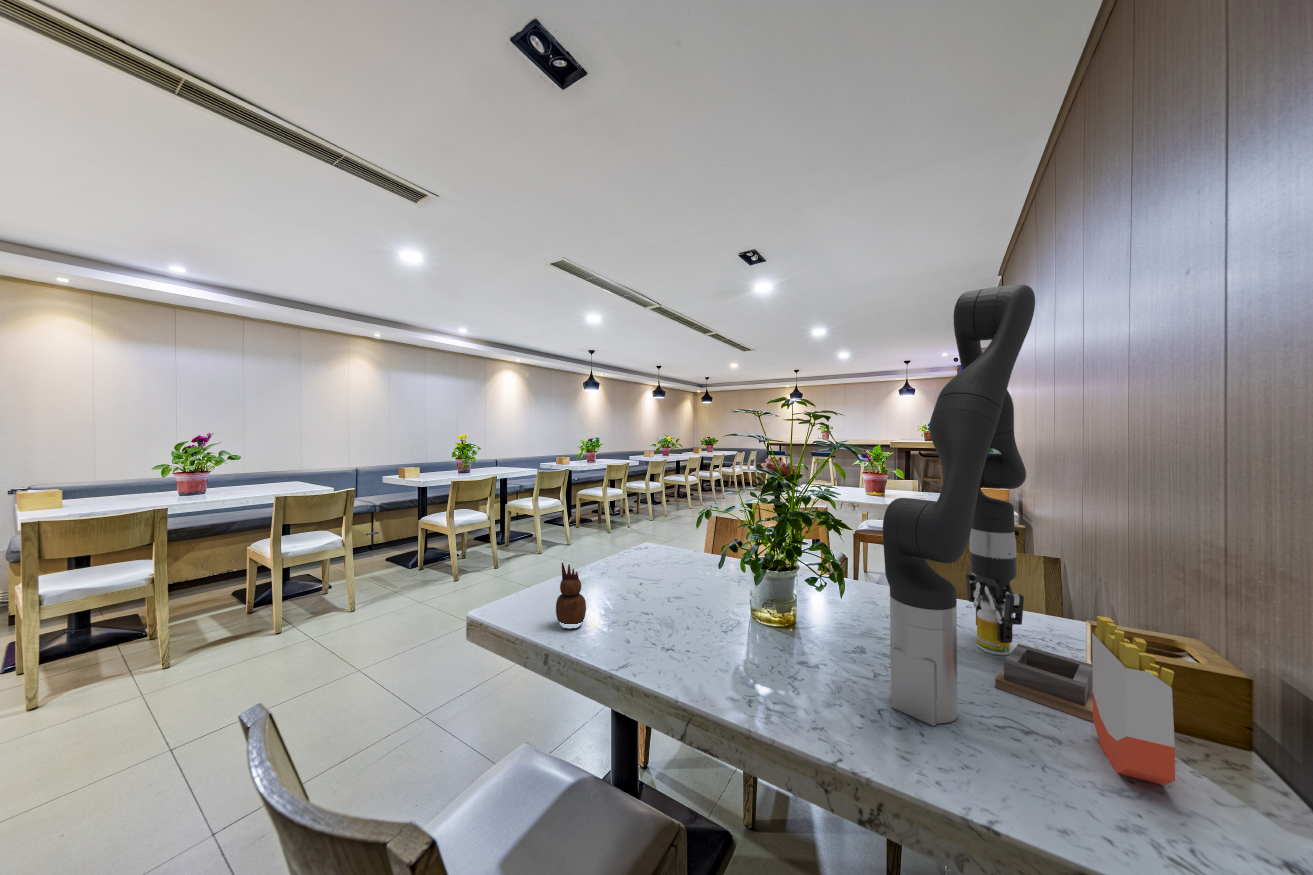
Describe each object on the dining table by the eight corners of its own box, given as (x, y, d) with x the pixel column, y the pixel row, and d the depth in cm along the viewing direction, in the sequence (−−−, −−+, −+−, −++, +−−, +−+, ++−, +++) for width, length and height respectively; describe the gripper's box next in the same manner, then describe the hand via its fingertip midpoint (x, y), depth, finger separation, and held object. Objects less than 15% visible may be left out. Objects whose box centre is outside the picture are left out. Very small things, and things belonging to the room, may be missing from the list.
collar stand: (1093, 721, 66) (1092, 692, 66) (995, 687, 75) (995, 661, 75) (1103, 691, 74) (1102, 665, 74) (1013, 663, 83) (1012, 640, 83)
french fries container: (1136, 745, 61) (1135, 616, 61) (1180, 802, 52) (1179, 650, 52) (1092, 734, 63) (1091, 610, 63) (1125, 787, 54) (1124, 642, 54)
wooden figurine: (551, 630, 100) (550, 564, 100) (564, 619, 106) (563, 557, 106) (578, 633, 98) (577, 566, 98) (589, 623, 104) (589, 559, 104)
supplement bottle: (980, 640, 92) (979, 595, 92) (1012, 649, 89) (1011, 602, 89) (974, 649, 89) (974, 602, 89) (1008, 659, 85) (1007, 609, 85)
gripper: (1039, 562, 81) (1040, 652, 81) (988, 543, 95) (989, 619, 95) (996, 561, 82) (997, 650, 82) (952, 542, 96) (953, 618, 96)
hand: (993, 633), depth 89 cm, fingers open, 6 cm apart
